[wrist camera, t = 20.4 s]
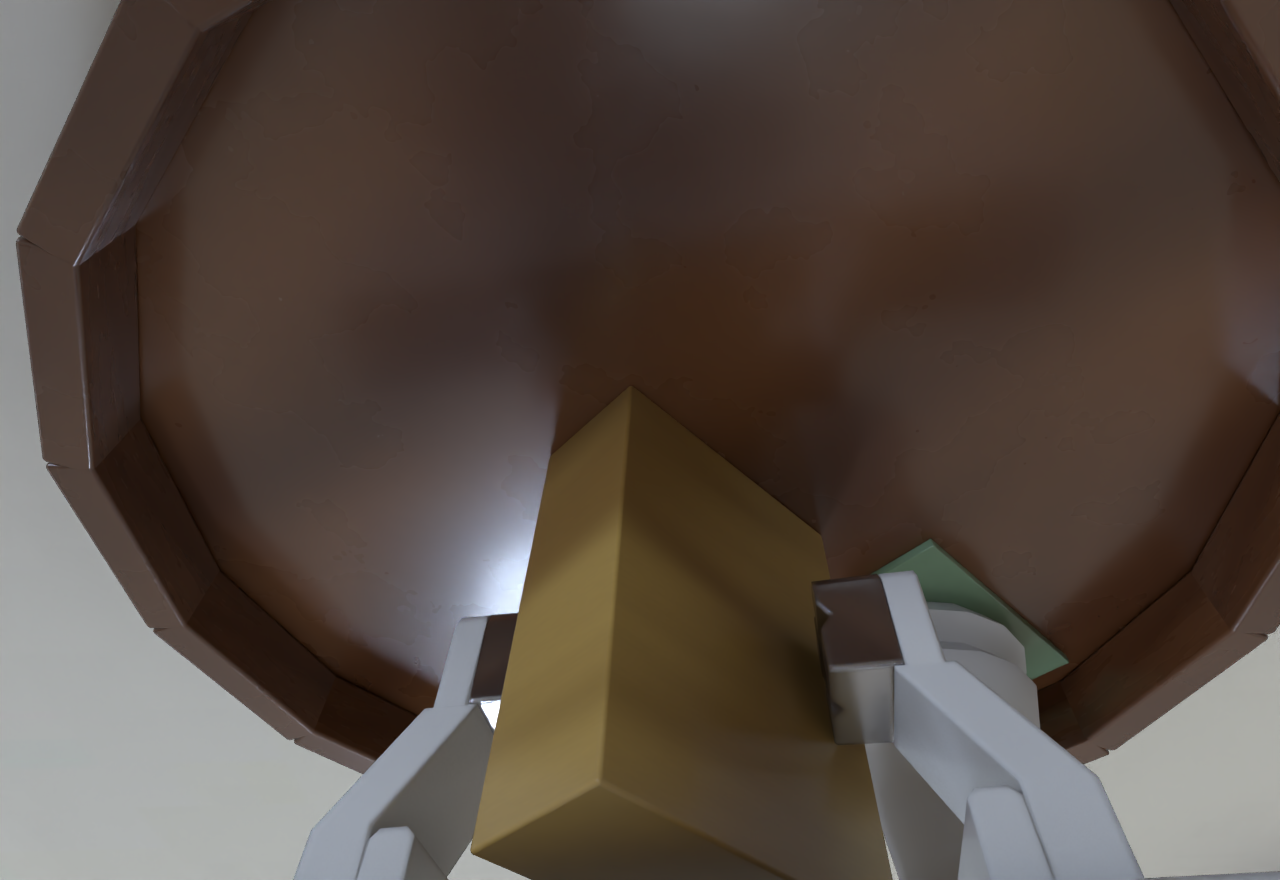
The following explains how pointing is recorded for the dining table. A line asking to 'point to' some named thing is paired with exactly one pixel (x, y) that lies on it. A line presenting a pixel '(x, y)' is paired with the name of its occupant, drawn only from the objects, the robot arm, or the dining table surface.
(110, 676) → the dining table surface
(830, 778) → the tray
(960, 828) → the rook chess piece
